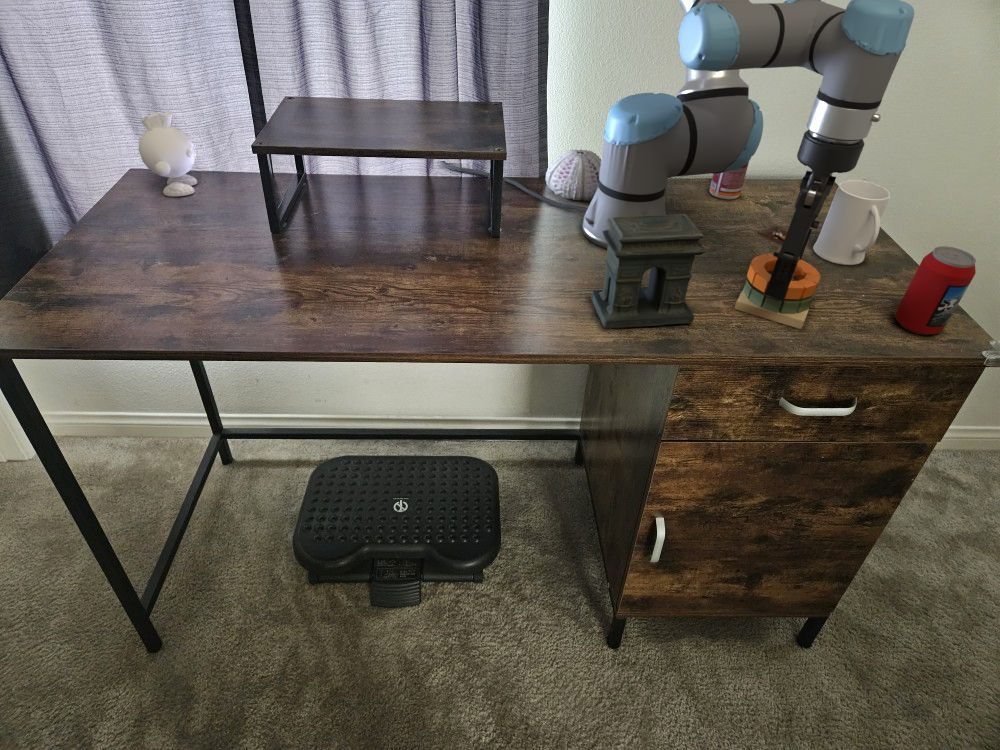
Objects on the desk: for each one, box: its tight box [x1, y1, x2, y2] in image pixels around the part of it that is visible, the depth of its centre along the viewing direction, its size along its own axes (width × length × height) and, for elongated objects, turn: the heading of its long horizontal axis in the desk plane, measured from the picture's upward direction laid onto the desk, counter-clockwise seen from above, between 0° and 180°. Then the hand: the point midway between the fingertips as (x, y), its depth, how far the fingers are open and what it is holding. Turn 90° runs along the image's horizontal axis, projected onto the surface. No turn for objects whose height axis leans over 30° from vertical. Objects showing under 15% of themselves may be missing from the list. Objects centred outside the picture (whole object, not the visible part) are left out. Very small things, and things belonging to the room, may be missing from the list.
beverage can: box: [894, 245, 977, 336], centre depth 95 cm, size 7×7×12 cm
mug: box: [812, 179, 892, 266], centre depth 110 cm, size 12×8×12 cm
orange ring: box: [746, 253, 822, 299], centre depth 99 cm, size 10×10×2 cm
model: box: [590, 213, 707, 329], centre depth 94 cm, size 14×9×15 cm, turn 99°
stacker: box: [734, 257, 817, 330], centre depth 99 cm, size 10×10×8 cm
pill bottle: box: [709, 161, 750, 200], centre depth 130 cm, size 6×6×11 cm
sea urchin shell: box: [545, 149, 602, 201], centre depth 130 cm, size 13×14×8 cm
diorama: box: [761, 227, 787, 246], centre depth 119 cm, size 3×4×2 cm
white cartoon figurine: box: [138, 109, 198, 197], centre depth 121 cm, size 15×10×15 cm, turn 13°
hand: (782, 280), depth 99 cm, fingers closed on orange ring, 10 cm apart
